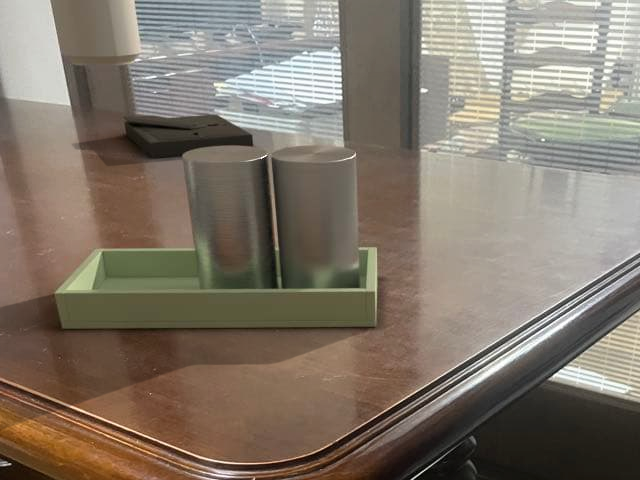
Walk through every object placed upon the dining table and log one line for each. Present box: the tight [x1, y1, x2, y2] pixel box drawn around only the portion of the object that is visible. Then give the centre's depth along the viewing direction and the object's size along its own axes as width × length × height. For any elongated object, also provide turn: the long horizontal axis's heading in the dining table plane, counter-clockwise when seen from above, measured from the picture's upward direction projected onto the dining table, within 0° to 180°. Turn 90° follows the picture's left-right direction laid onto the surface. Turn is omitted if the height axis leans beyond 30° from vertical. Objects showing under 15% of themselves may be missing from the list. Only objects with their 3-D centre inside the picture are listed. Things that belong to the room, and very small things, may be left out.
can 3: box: [270, 144, 360, 289], centre depth 76 cm, size 7×7×12 cm
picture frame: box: [123, 114, 254, 159], centre depth 141 cm, size 16×3×21 cm
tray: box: [53, 246, 378, 330], centre depth 79 cm, size 27×13×3 cm, turn 91°
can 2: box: [181, 146, 279, 289], centre depth 76 cm, size 7×7×12 cm
